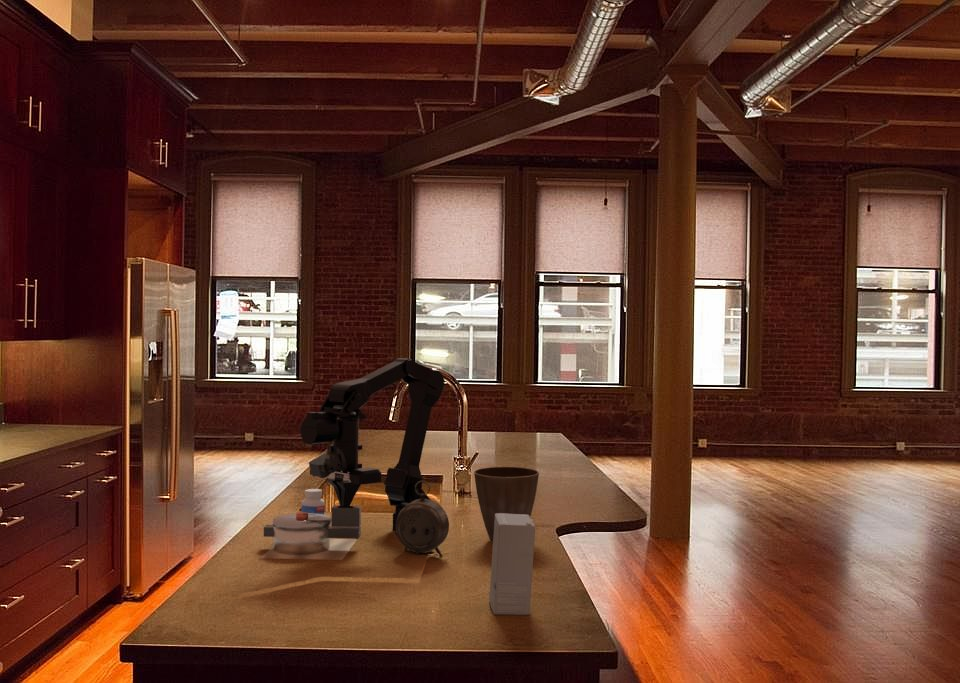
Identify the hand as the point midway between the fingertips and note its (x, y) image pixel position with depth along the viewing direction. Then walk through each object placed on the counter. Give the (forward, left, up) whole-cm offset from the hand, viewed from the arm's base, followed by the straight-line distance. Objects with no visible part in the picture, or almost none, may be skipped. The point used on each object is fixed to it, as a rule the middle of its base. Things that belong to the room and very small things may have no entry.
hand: (344, 511), depth 196 cm
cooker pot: (+6, +5, -7) cm, 11 cm away
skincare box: (-37, +41, -8) cm, 56 cm away
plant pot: (-36, -9, -8) cm, 38 cm away
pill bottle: (+10, -15, -8) cm, 20 cm away
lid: (+5, +5, -2) cm, 7 cm away
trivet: (+6, +5, -8) cm, 11 cm away
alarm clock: (-18, +7, -8) cm, 21 cm away
